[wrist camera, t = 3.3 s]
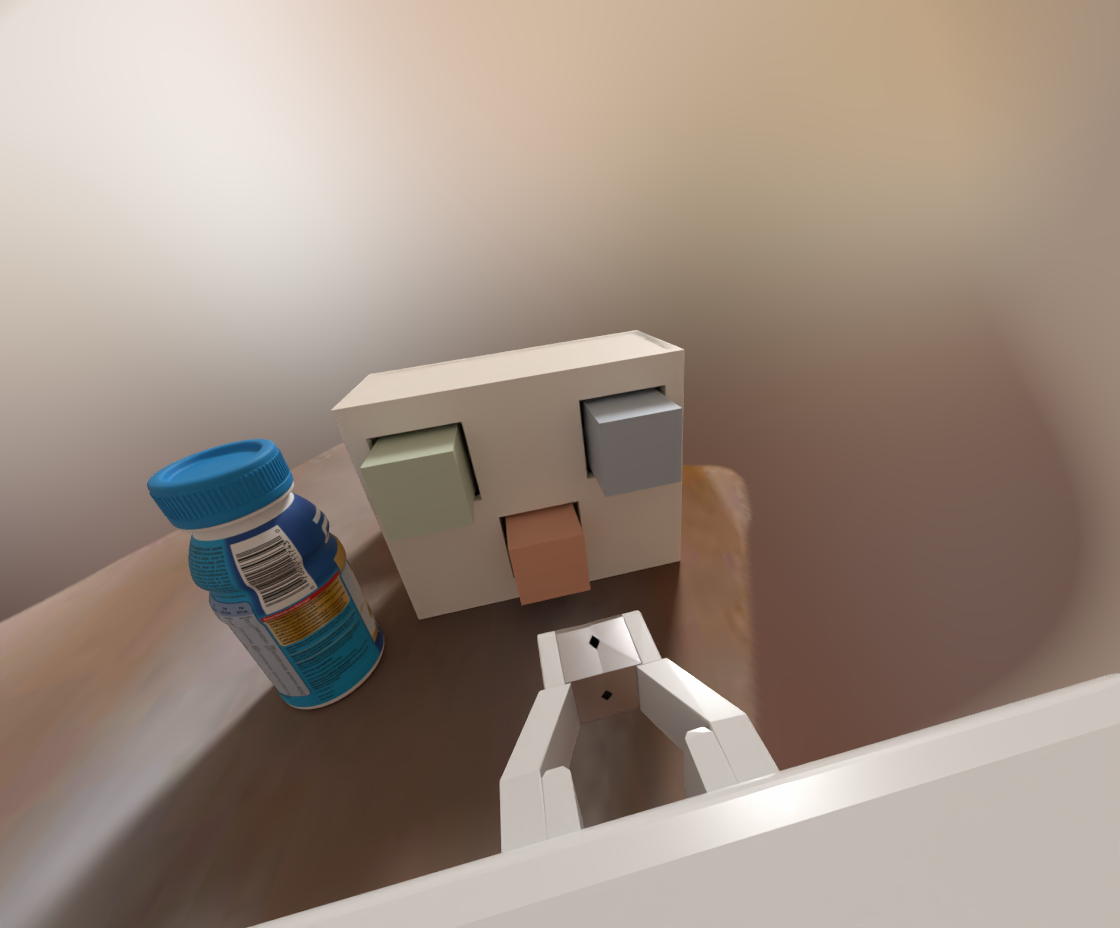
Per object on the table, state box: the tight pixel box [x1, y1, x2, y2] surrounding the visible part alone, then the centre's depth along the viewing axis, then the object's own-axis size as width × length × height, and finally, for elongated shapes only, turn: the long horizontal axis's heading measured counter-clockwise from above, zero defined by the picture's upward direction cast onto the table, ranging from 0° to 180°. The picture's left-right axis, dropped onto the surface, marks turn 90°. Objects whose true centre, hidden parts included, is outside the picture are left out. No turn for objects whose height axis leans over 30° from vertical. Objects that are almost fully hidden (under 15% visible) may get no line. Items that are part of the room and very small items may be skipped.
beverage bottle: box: [147, 439, 384, 709], centre depth 29 cm, size 8×8×20 cm
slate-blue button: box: [580, 387, 682, 497], centre depth 31 cm, size 6×6×6 cm
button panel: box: [331, 330, 684, 620], centre depth 38 cm, size 26×10×21 cm, turn 100°
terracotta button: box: [505, 502, 591, 605], centre depth 35 cm, size 6×6×6 cm
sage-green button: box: [360, 422, 475, 541], centre depth 30 cm, size 6×6×6 cm
